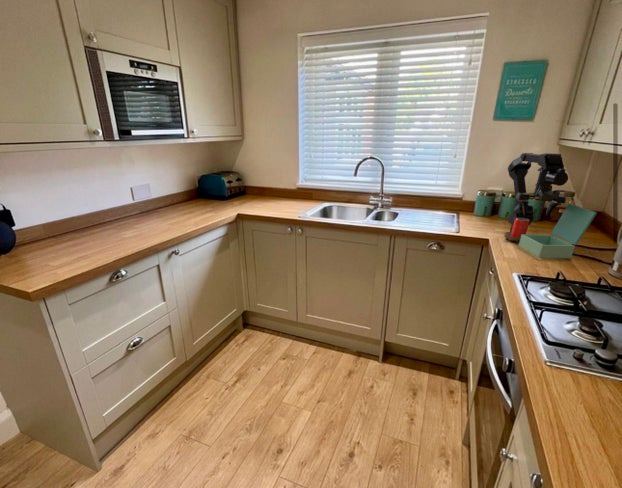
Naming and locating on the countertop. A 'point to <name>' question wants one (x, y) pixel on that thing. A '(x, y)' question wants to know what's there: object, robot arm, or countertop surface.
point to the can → (520, 227)
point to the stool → (512, 237)
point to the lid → (573, 223)
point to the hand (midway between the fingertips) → (535, 216)
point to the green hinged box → (546, 246)
